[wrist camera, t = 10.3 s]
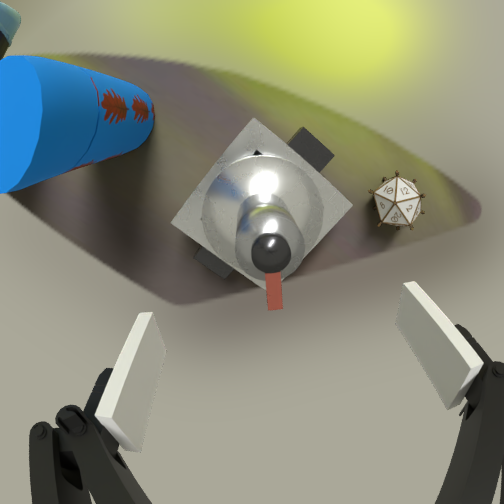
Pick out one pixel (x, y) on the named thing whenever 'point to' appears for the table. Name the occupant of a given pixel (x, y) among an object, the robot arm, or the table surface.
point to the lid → (263, 218)
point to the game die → (397, 202)
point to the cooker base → (262, 143)
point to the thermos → (64, 119)
